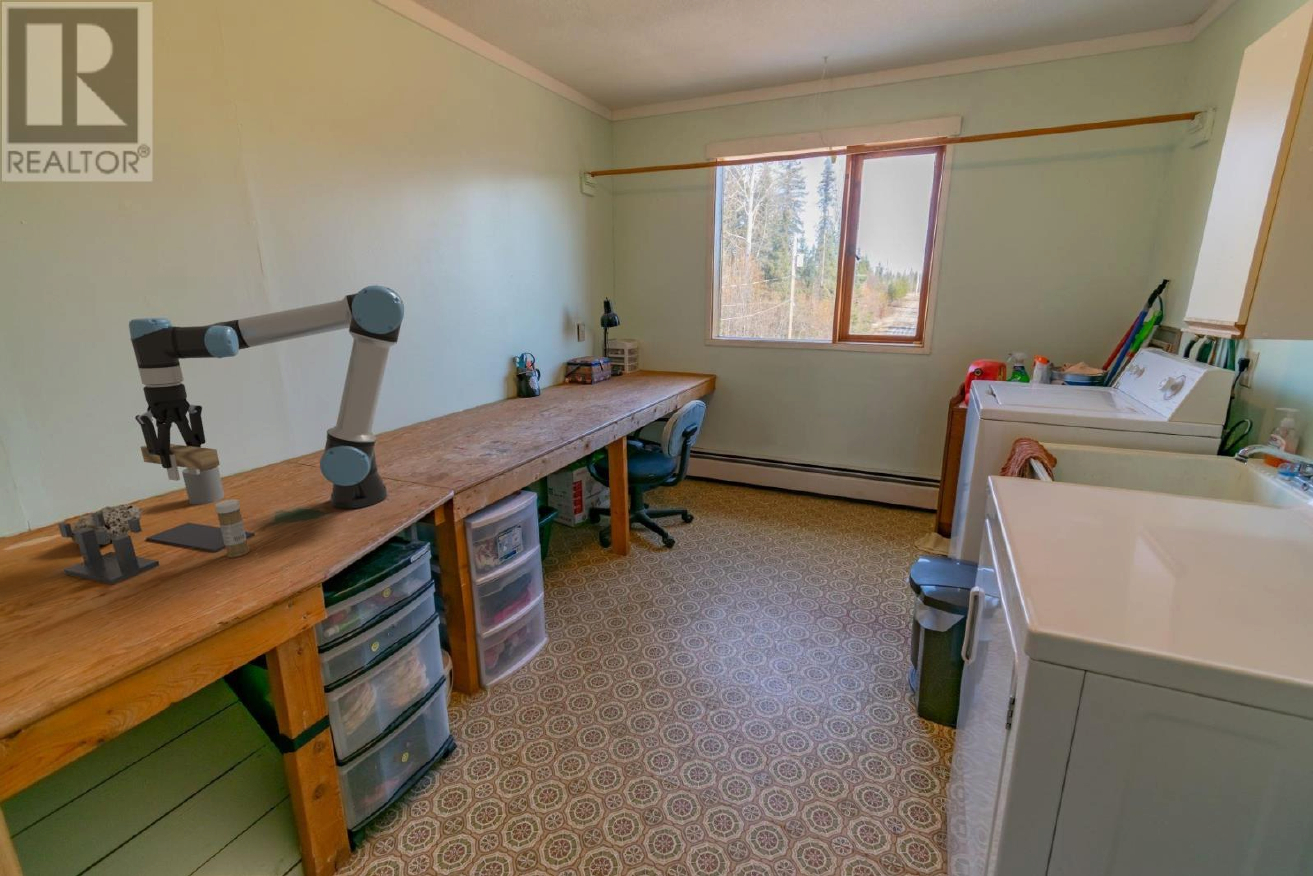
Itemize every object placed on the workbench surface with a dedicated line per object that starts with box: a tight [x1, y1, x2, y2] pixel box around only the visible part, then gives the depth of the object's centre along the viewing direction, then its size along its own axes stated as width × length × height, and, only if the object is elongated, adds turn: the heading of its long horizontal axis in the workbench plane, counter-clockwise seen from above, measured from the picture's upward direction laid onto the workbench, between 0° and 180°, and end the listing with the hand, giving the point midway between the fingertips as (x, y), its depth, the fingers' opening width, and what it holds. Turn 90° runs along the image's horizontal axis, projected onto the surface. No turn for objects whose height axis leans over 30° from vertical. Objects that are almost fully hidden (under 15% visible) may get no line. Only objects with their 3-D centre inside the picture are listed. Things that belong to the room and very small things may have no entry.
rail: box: [140, 443, 220, 470], centre depth 137 cm, size 20×4×4 cm, turn 74°
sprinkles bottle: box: [214, 499, 250, 558], centre depth 132 cm, size 5×5×14 cm
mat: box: [145, 522, 256, 553], centre depth 143 cm, size 24×10×1 cm, turn 74°
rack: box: [57, 511, 160, 586], centre depth 125 cm, size 16×9×12 cm, turn 74°
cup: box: [181, 465, 225, 506], centre depth 167 cm, size 8×8×10 cm
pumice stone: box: [69, 504, 143, 545], centre depth 141 cm, size 14×12×8 cm
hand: (184, 476), depth 138 cm, fingers closed on rail, 4 cm apart
